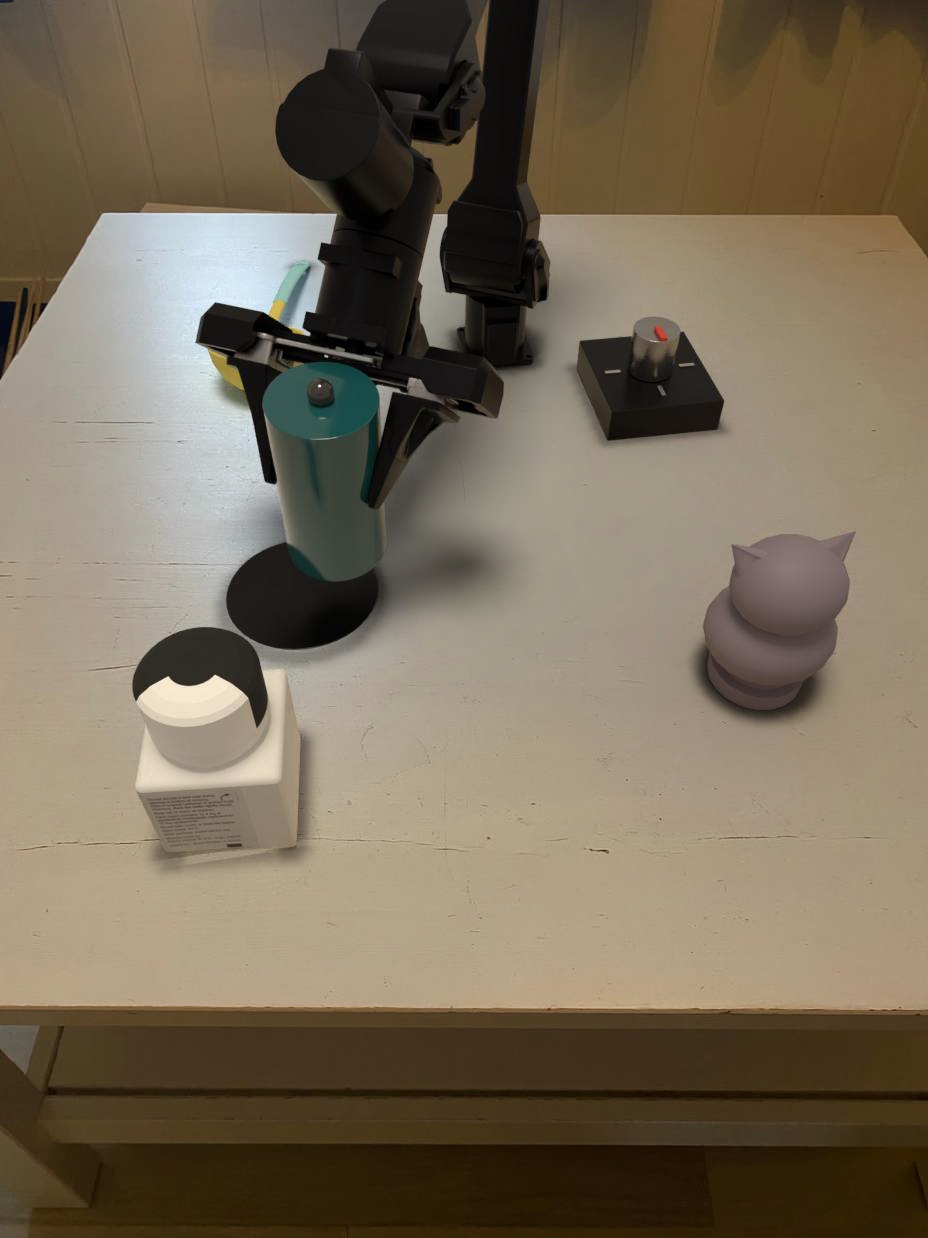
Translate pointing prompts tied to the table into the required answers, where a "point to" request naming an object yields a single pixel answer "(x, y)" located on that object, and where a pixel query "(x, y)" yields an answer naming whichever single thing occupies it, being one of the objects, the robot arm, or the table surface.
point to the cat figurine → (776, 618)
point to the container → (216, 744)
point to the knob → (653, 349)
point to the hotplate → (296, 602)
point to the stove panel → (647, 391)
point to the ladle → (275, 312)
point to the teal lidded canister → (326, 467)
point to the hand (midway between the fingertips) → (321, 496)
